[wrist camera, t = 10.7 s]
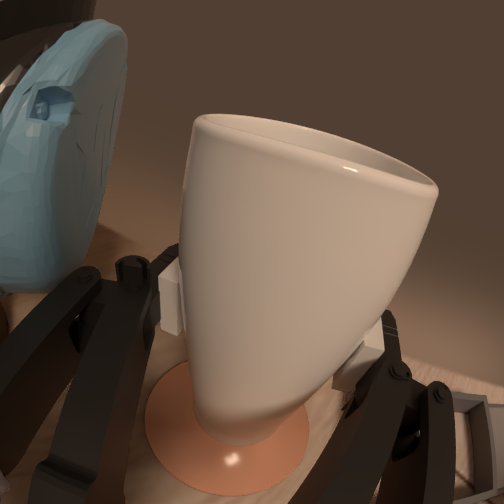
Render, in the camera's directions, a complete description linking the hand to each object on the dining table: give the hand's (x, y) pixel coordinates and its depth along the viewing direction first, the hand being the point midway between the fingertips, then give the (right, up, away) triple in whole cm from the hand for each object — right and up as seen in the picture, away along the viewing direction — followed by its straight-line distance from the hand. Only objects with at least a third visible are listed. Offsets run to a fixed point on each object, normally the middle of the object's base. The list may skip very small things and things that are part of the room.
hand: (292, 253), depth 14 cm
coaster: (-4, -12, +3) cm, 13 cm away
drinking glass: (-3, -10, 0) cm, 10 cm away
